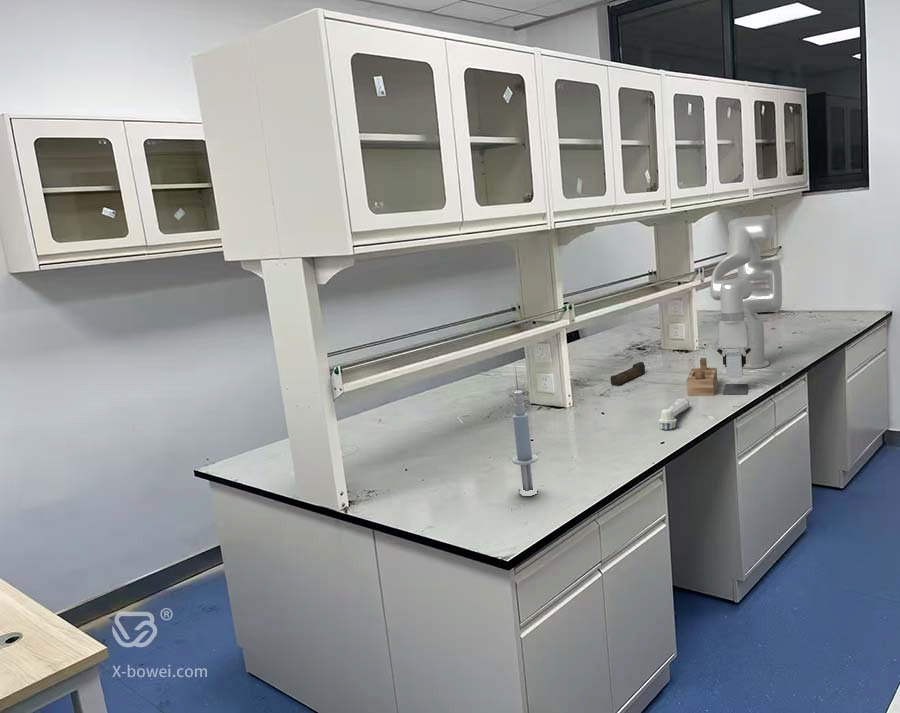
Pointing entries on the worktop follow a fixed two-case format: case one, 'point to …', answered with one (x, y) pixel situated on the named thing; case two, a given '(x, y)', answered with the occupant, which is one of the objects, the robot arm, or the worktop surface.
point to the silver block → (734, 365)
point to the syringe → (523, 441)
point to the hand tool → (628, 374)
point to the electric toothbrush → (672, 413)
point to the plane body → (702, 380)
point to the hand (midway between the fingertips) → (734, 365)
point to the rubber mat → (735, 389)
